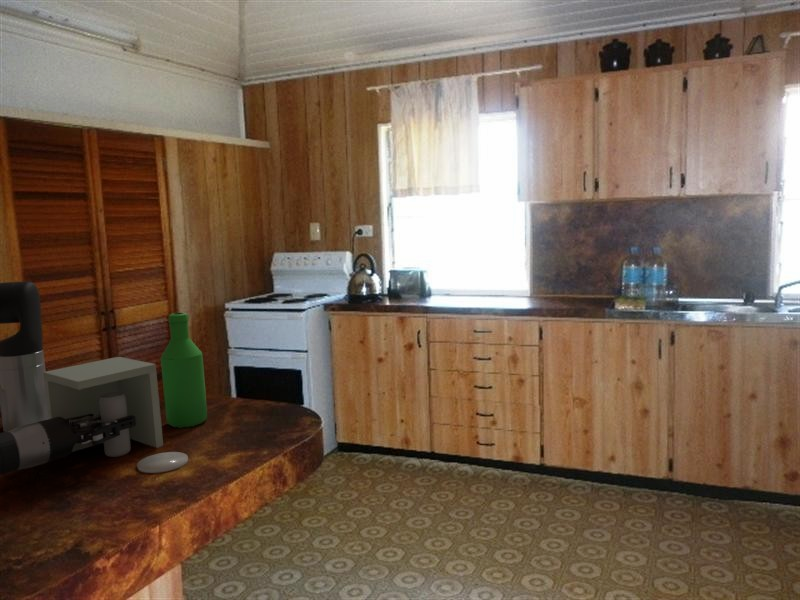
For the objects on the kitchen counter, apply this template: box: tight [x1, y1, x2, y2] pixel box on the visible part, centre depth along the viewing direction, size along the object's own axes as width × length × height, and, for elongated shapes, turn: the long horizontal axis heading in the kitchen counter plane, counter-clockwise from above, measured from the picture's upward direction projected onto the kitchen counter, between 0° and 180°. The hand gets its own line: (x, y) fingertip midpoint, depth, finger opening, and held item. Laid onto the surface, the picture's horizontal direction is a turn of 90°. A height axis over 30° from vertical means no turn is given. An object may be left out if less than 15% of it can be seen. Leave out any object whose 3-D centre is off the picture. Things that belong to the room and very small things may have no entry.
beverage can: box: [99, 392, 132, 458], centre depth 129 cm, size 5×5×12 cm
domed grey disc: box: [136, 451, 189, 474], centre depth 124 cm, size 9×9×1 cm
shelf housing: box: [43, 356, 164, 453], centre depth 131 cm, size 16×14×17 cm
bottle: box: [160, 312, 208, 429], centre depth 146 cm, size 9×9×25 cm
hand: (127, 418), depth 131 cm, fingers closed on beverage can, 4 cm apart
